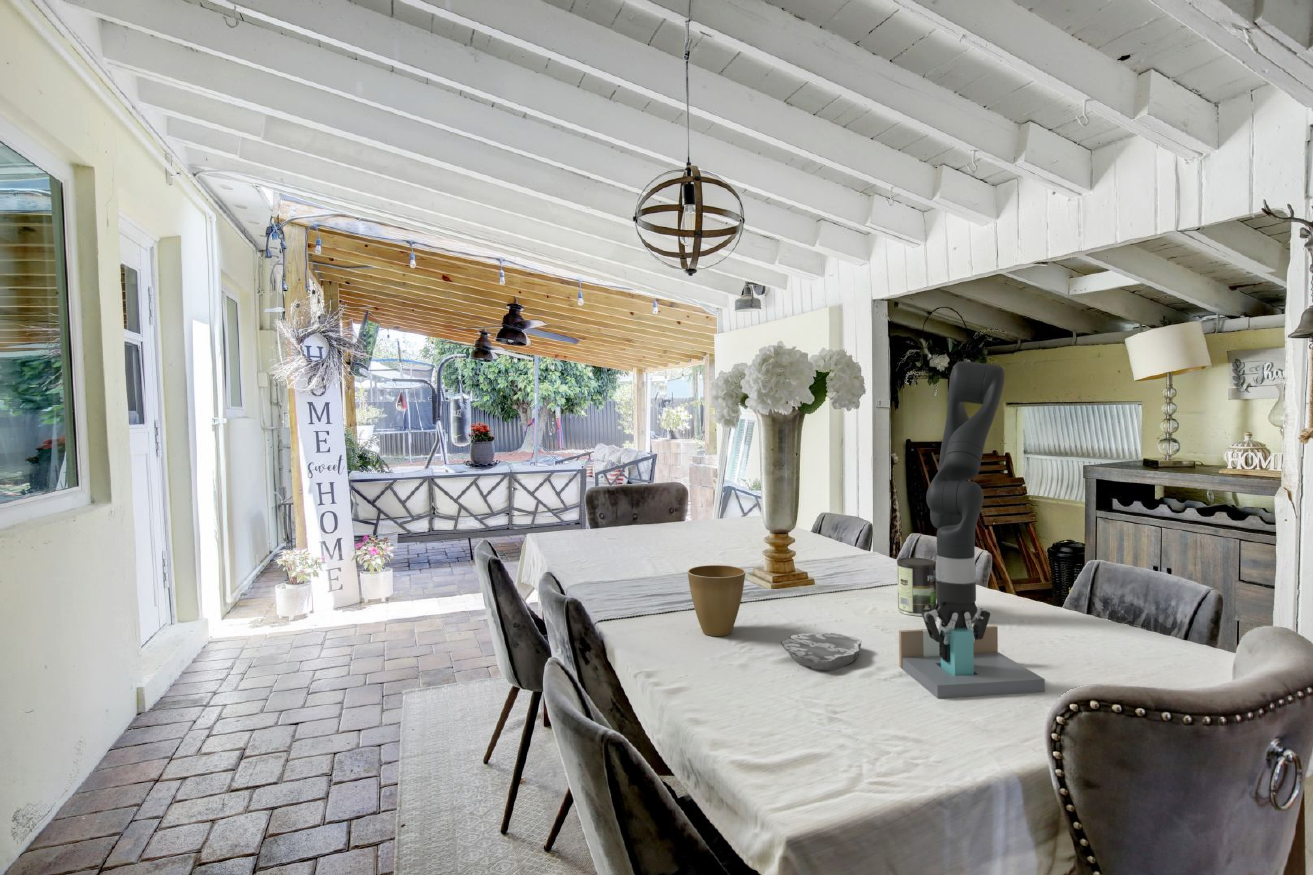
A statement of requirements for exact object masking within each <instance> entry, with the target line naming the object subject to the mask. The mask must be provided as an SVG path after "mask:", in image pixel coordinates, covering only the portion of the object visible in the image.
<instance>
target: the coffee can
mask: <svg viewBox="0 0 1313 875" xmlns="http://www.w3.org/2000/svg"><path fill="white" fill-rule="evenodd" d="M896 564H897V611H898V612H899V613H900V614H904V615H907V616H913V617H923V616H922V613H923V612H924V611H926V612H930V611H932V610H935V606H936V604H937V599H936V560H933V559H930V558H924V557H922V558H921V557H902V558H899V559H897V560H896Z"/></svg>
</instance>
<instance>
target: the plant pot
mask: <svg viewBox="0 0 1313 875" xmlns="http://www.w3.org/2000/svg"><path fill="white" fill-rule="evenodd" d="M687 578H688V584H689V585H688V586H689V590H690V595H691V600H692V603H693V607H694V611H695V614H696V618H697V620H698V623H699V626H700V629H701V631H702V633H703V634H704V633H705V634H704V635H706V636H710V637H725V636H728V635H731V633H732V632H733V629H734V626H735V622H736V620H737V617H738V613H739V609H740V606H741V601H742V597H743V591H744V586H745V581H746V580H745V578H746V570H745V569H743V568H742V567H737V566H732V565H722V564H721V565H719V564H712V565H711V564H710V565H708V564H706V565H701V566H694V567H691V568H689V569H688V570H687Z"/></svg>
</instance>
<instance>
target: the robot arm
mask: <svg viewBox="0 0 1313 875" xmlns="http://www.w3.org/2000/svg"><path fill="white" fill-rule="evenodd" d="M948 382H949V384H948V395H947V396H948V397H947V408H946V409H947V410H946V421H945V425H944V431H943V437H942V441H941V446H940V454H939V462H938V472H937V473H936V474H935V476H934V477H933V479H932V481H931V482H930V484H929V486H928V488H927V491H926V496H925V497H926V498H925V499H926V504H927V506H928V508H929V509H930V510H929V512H930V513H929V516H930V521H931V522H930V523H931V524H932V526H933V527H934V528H936V529H937V531H936V560H935V562H936V606H935V610H932V611H930V612H926V611H924V612H923V613H922V616H921V617H922V618H923V621H924V624H925V627H926V629H927V630H928V633H929V636H930V638H932V639H934V640H935V641H936V642H939V655H940V657H941V658H942V659H943V660H944V661H945V662H950V645H949V641H950V634H951V631H954V628H956V627H962V628H964V627H966V629H967V630H972V631H973V644H974V642H975V641H976V640H978V639H980V640H981V639H983V636H984V633H985V630H986V627H987V626H988V623H989V621H990V617H991V612H989V611H987V610H985V609H983V608H981V607H980V608H979V607H977V605H976V601H977V571H976V570H977V569H976V560H975V551H976V550H975V549H976V548H975V547H976V527H977V524H978V520H979V516H980V513H981V510H982V507H983V503H984V500H985V499H984V496H985V495H984V492H983V489H982V487H981V486H980V485H979V483H977V482H975V481H971V480H973V479H975V478H976V477H977V476H978V475H979V472H980V468H981V462H982V457H983V455H984V454H983V453H984V450H985V444H986V441H987V436H988V435H989V432H990V429H991V426H992V424H993V421H994V418H995V416H996V413H997V410H998V407H999V403H1000V400H1001V398H1002V394H1003V389H1004V384H1005V370H1004V367H1002V366H1000V365H998V364H991V363H981V362H975V361H958V362H956V363H955V364H954V365H953V367H952V370H951V372H950V378H949V381H948ZM965 403H970V404H977V405H981V406H980V408H979V409H978V410H977V412H976V413H974V415H972V416H971V417H969V415H968V412H967V411H966V406H965ZM969 480H970V481H969ZM937 617H938V618H937ZM938 619H940V621H939V625H938V626H937V623H936V622H937V621H938ZM973 622H974V623H973ZM946 626H947V628H946ZM937 628H939V629H940V630H939V631H938V629H937Z"/></svg>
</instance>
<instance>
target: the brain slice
mask: <svg viewBox="0 0 1313 875" xmlns="http://www.w3.org/2000/svg"><path fill="white" fill-rule="evenodd" d="M789 638H790V639H784V640H783V641H782V640H781V642H780V645H781V646H782V648H783V649H784V650H785V651H786V652H787V653H788V655H789V656H790V657H791V659H793V661H794V662H795V663H797V664H798V665H799V666H802V667H805V668H807V667H808V668H810V669H812V670H814V671H822V672H823V671H827V672H828V671H833V670H835V669H839V668H842V667H847V665H850V664H851V663H853V662H854V661H856V660H857V658H858V656H859V654H860V653H859V651H860V649H861V647H862V640H861V639H859V638H857V637H853V636H848V635H845V634H841V633H835V632H834V633H833V632H831V633H828V632H818V633H815V632H809V633H797V634H792V635H790V636H789Z"/></svg>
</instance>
